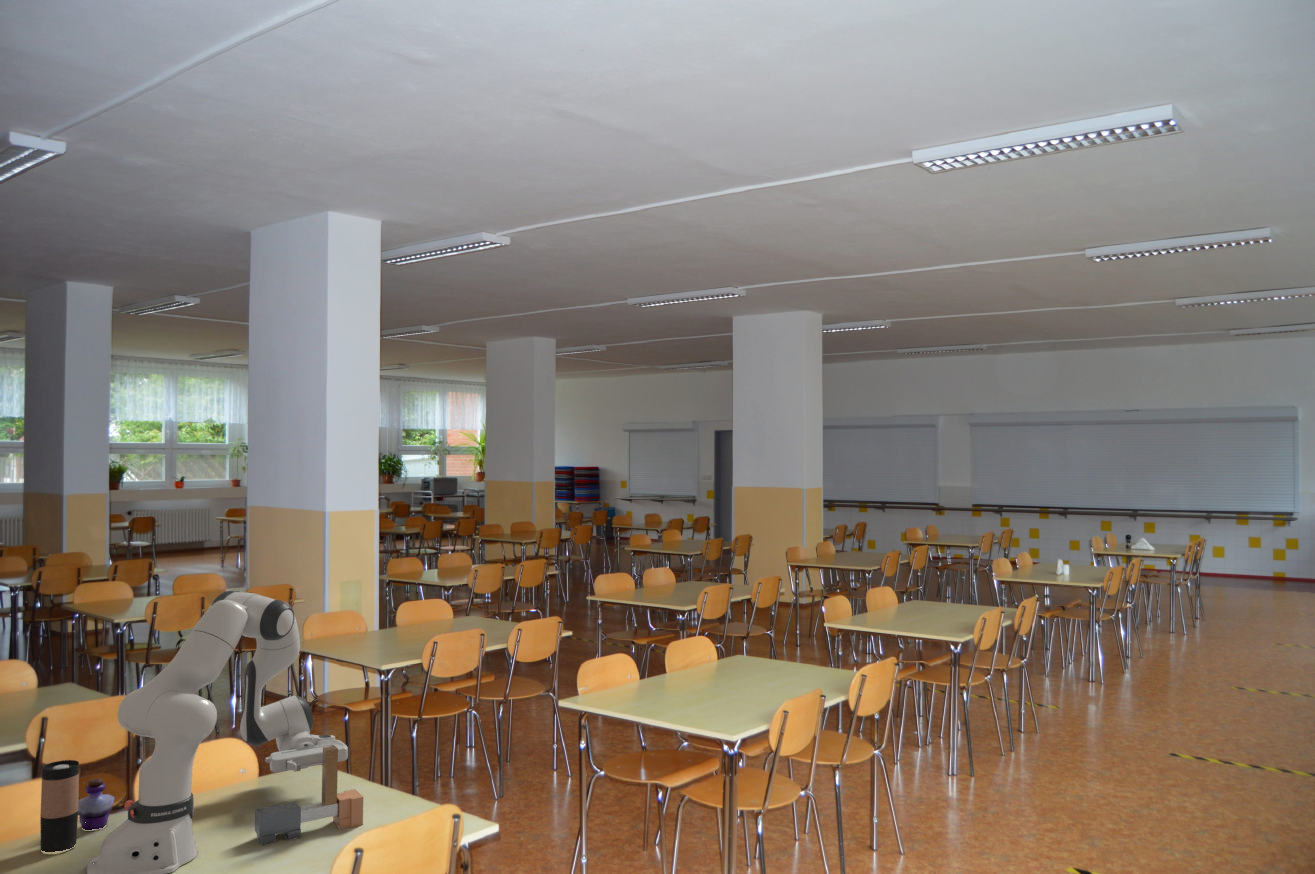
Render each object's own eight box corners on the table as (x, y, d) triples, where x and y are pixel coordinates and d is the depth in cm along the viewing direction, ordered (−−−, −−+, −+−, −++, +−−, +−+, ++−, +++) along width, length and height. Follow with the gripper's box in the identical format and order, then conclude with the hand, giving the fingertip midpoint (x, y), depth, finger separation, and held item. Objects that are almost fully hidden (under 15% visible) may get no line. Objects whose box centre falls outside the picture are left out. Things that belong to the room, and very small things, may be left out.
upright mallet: (288, 825, 228) (289, 756, 229) (285, 821, 231) (286, 753, 231) (347, 813, 237) (348, 746, 237) (343, 809, 239) (345, 743, 240)
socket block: (340, 829, 234) (341, 801, 234) (332, 820, 239) (333, 792, 240) (362, 824, 237) (363, 796, 237) (354, 815, 243) (355, 788, 243)
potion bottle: (113, 818, 239) (114, 772, 239) (114, 829, 232) (115, 781, 232) (74, 825, 235) (75, 777, 235) (74, 837, 227) (75, 788, 228)
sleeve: (259, 846, 223) (260, 816, 223) (254, 837, 228) (254, 808, 228) (300, 837, 229) (301, 808, 229) (294, 829, 233) (295, 801, 234)
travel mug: (31, 853, 218) (33, 768, 218) (60, 840, 225) (63, 758, 226) (56, 857, 216) (58, 771, 216) (85, 844, 223) (87, 761, 224)
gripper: (263, 746, 252) (275, 760, 241) (339, 734, 264) (354, 746, 252) (263, 769, 252) (275, 784, 240) (339, 756, 263) (353, 769, 252)
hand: (316, 764), depth 246 cm, fingers open, 8 cm apart
